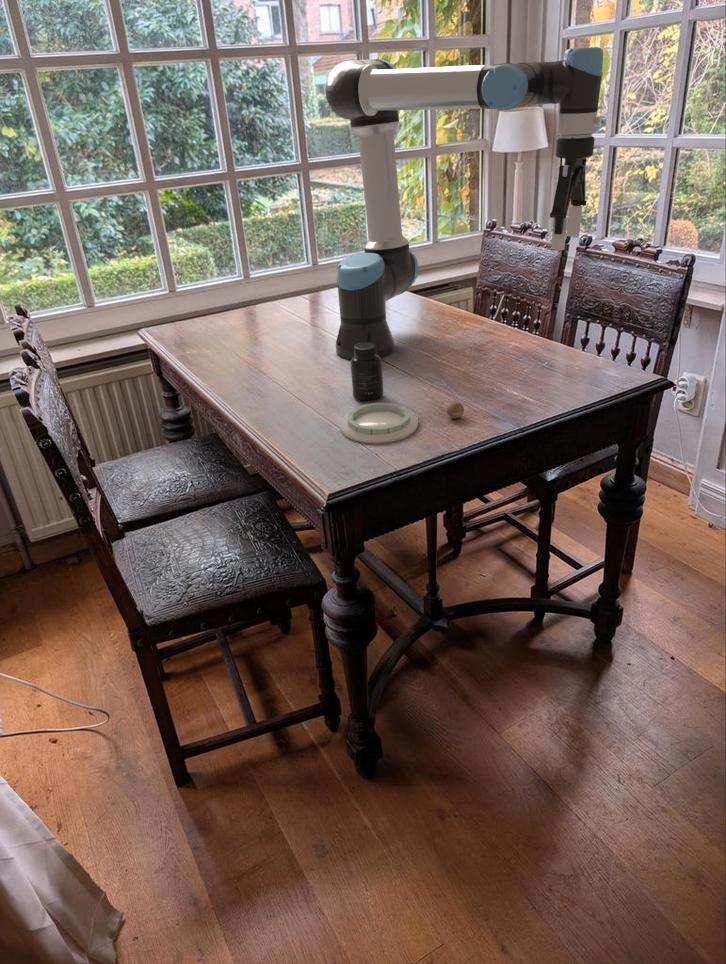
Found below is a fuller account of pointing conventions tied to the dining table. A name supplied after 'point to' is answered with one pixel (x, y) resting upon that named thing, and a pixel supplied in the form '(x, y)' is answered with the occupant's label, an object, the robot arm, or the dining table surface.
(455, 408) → the wooden bead
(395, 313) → the dining table surface
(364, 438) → the plate
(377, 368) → the supplement bottle
